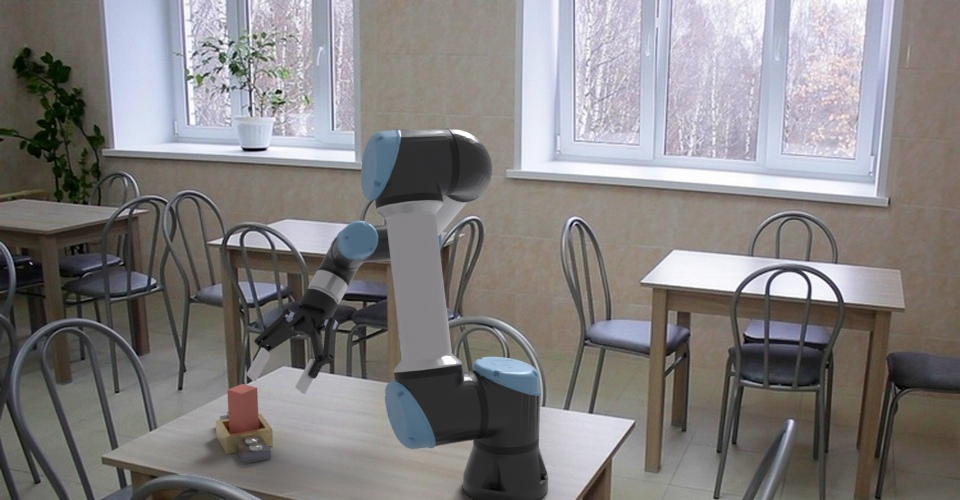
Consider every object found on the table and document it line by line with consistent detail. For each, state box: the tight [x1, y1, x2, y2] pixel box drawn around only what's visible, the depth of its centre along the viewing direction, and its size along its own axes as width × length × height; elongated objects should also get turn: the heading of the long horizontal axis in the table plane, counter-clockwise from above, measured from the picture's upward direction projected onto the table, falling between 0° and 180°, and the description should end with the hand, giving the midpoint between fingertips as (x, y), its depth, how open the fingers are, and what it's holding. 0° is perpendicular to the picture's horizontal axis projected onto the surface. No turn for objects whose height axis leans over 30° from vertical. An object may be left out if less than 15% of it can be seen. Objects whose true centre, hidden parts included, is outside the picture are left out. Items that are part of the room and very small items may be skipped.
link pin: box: [227, 383, 259, 434], centre depth 192 cm, size 4×4×11 cm
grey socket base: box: [215, 411, 274, 465], centre depth 193 cm, size 21×9×4 cm, turn 27°
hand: (275, 384), depth 199 cm, fingers open, 13 cm apart
